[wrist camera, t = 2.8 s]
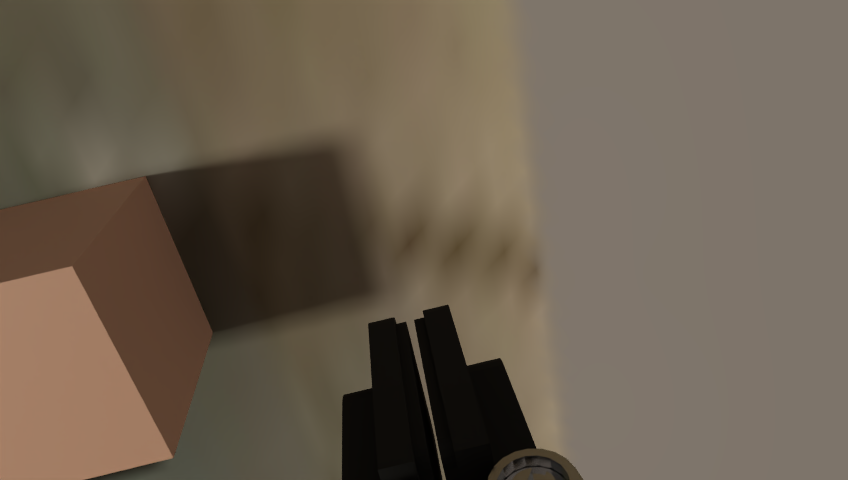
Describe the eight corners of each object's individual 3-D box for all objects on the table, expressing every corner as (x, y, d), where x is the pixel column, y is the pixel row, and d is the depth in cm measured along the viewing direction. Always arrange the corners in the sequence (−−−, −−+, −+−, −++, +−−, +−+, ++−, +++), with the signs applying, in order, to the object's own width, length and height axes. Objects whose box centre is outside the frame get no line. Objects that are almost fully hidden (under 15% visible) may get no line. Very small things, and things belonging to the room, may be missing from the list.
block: (-47, 219, 17) (-198, 329, 12) (146, 175, 17) (72, 266, 13) (45, 371, 20) (-50, 512, 15) (213, 331, 20) (173, 457, 15)
